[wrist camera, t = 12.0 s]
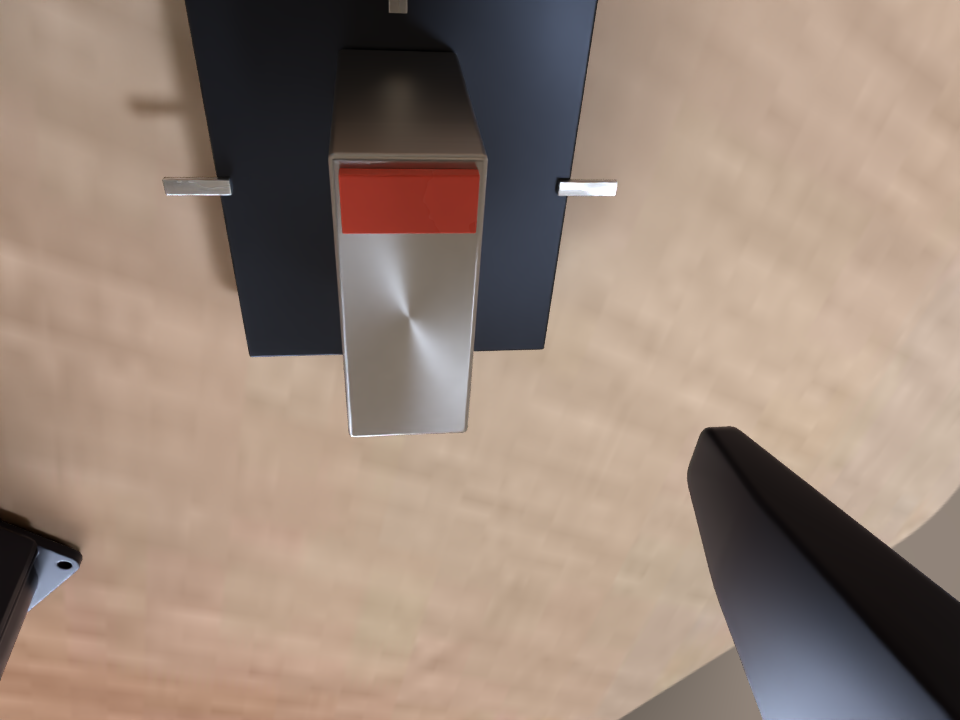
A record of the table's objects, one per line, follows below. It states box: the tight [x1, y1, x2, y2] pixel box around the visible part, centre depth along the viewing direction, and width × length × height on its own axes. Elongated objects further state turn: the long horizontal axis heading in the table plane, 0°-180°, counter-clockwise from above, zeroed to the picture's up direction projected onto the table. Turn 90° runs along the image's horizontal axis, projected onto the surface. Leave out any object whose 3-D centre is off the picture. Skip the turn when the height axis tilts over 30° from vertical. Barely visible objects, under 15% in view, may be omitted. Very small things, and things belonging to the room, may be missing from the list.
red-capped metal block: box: [328, 49, 488, 437], centre depth 14 cm, size 6×2×5 cm, turn 176°
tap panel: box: [162, 0, 618, 357], centre depth 17 cm, size 10×10×3 cm
